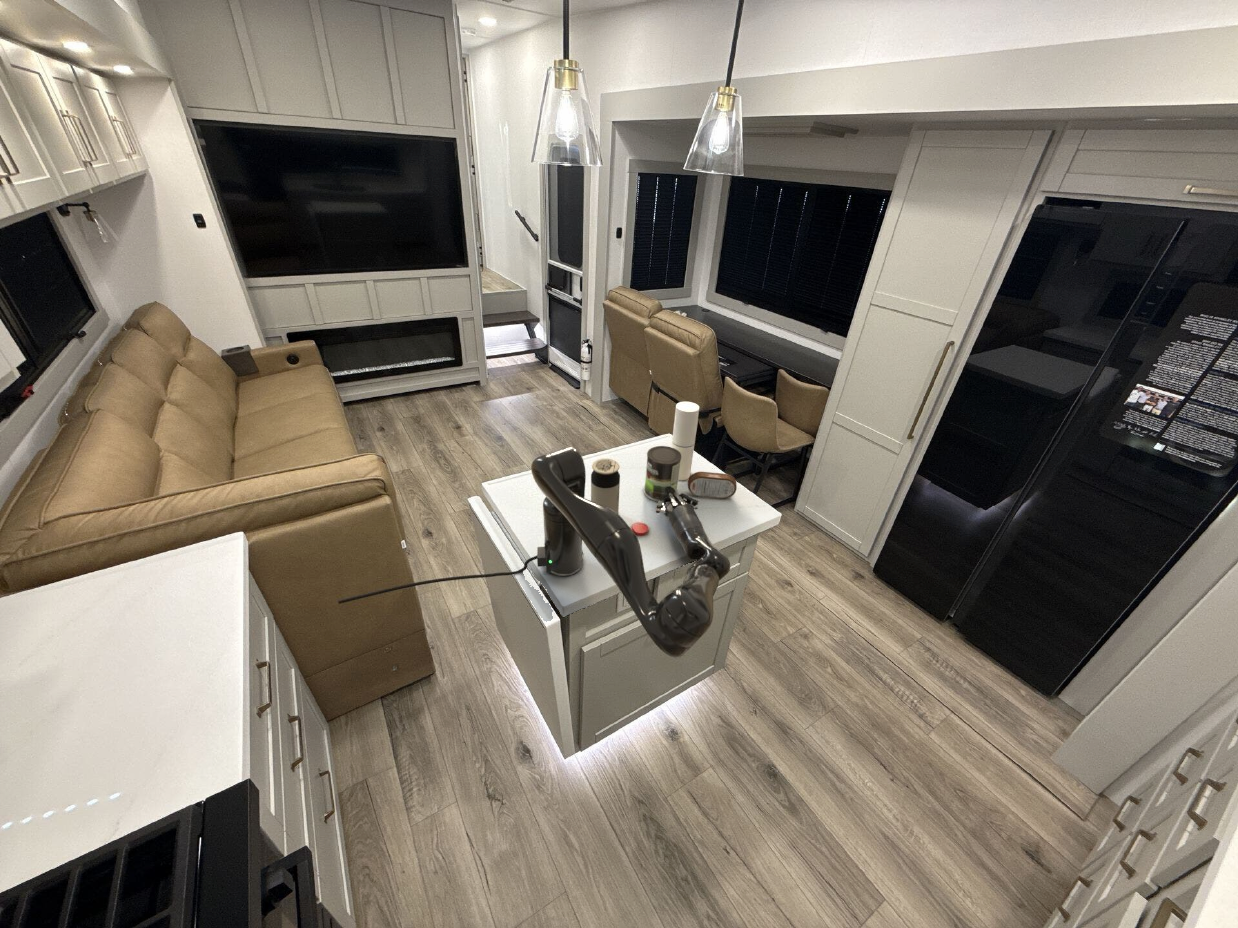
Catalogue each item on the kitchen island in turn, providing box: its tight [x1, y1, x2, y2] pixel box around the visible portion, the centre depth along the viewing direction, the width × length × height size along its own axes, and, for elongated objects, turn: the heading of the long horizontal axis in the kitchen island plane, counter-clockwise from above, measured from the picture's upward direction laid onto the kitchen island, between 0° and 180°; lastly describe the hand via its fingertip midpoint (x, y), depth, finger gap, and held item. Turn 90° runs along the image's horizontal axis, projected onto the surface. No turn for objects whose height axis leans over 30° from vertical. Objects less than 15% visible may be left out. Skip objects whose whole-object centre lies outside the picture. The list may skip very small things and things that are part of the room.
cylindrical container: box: [671, 401, 700, 481], centre depth 154 cm, size 7×7×25 cm
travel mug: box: [590, 458, 621, 514], centre depth 136 cm, size 8×8×18 cm
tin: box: [687, 471, 738, 500], centre depth 149 cm, size 15×3×8 cm, turn 84°
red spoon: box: [631, 522, 649, 536], centre depth 134 cm, size 16×5×1 cm, turn 117°
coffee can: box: [643, 445, 681, 503], centre depth 148 cm, size 10×10×14 cm
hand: (668, 488), depth 143 cm, fingers closed
